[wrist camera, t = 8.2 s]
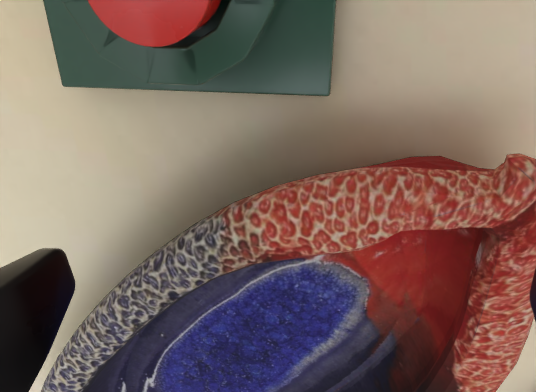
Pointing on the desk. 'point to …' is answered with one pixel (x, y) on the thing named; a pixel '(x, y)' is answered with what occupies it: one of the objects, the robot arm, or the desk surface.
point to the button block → (204, 50)
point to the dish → (328, 289)
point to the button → (154, 19)
